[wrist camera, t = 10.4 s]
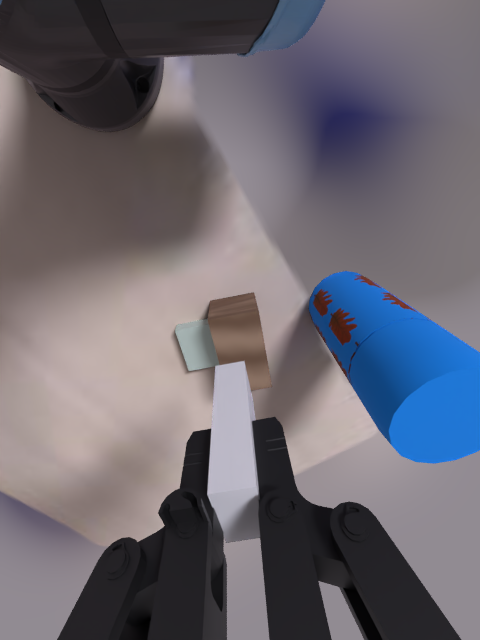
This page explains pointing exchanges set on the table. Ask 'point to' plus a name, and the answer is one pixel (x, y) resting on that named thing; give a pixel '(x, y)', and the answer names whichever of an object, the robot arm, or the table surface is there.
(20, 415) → the table surface
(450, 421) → the thermos
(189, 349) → the board
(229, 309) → the tan notched block
